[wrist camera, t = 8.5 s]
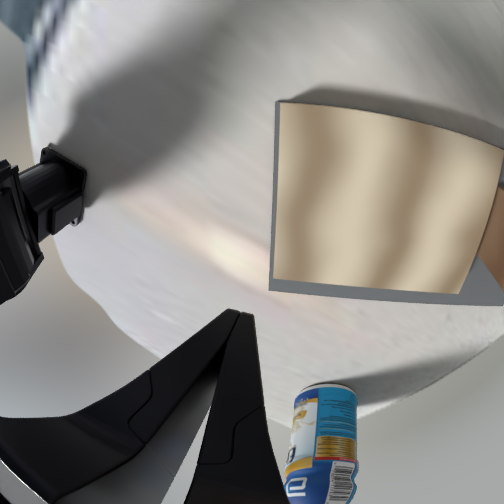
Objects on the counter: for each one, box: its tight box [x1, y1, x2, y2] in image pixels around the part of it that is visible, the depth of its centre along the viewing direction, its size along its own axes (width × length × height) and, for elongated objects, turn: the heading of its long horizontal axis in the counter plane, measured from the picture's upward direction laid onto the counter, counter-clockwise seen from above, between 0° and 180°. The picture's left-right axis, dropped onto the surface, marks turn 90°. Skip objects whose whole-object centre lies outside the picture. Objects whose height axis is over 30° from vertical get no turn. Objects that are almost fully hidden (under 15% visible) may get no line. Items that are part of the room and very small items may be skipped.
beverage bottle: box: [284, 384, 359, 504], centre depth 24 cm, size 8×8×20 cm
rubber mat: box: [269, 102, 504, 306], centre depth 18 cm, size 26×15×1 cm, turn 90°
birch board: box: [273, 102, 504, 294], centre depth 17 cm, size 16×12×2 cm
